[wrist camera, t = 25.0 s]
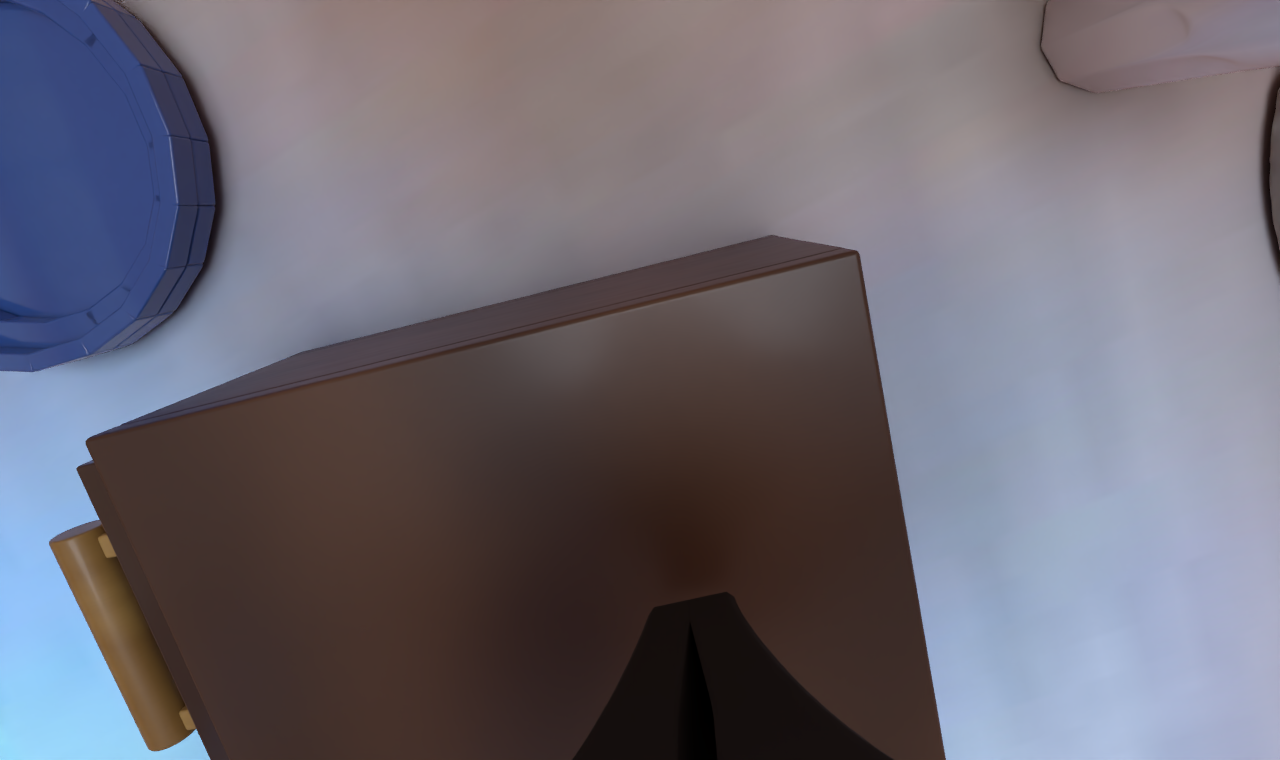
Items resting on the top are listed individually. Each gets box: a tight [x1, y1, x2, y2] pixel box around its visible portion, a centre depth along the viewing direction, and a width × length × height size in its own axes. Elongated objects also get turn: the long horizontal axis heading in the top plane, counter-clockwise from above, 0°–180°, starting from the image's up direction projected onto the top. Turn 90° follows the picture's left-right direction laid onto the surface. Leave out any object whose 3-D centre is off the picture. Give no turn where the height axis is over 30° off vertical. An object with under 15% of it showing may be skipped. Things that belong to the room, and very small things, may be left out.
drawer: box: [49, 460, 229, 760], centre depth 17 cm, size 17×10×6 cm, turn 104°
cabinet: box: [86, 235, 946, 760], centre depth 17 cm, size 14×11×8 cm
